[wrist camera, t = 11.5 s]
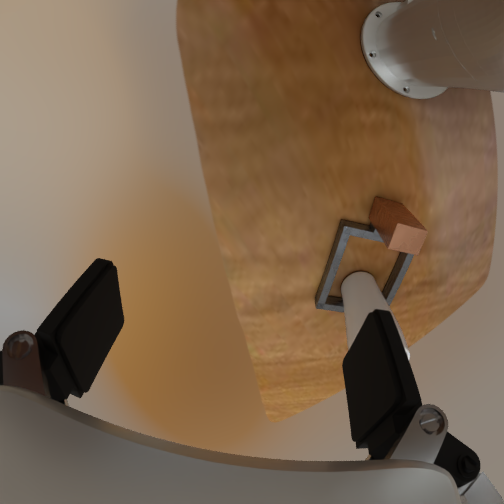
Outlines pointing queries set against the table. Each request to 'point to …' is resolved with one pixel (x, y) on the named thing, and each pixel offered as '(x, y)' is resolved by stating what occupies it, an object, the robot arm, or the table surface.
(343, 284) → the drinking glass
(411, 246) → the frame
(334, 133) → the table surface
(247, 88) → the table surface
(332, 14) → the table surface
